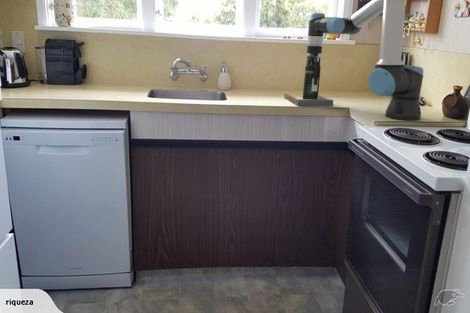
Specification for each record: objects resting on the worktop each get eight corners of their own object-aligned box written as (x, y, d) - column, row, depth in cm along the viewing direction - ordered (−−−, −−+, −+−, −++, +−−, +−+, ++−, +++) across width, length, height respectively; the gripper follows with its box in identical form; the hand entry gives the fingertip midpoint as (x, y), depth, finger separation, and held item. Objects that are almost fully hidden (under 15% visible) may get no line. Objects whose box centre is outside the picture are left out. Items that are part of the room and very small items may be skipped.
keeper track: (331, 105, 218) (331, 100, 218) (296, 105, 216) (296, 100, 215) (315, 98, 241) (316, 93, 240) (284, 97, 238) (284, 93, 238)
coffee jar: (317, 101, 217) (320, 64, 212) (301, 100, 219) (304, 63, 214) (318, 98, 226) (321, 63, 221) (303, 97, 228) (306, 62, 223)
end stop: (332, 106, 216) (333, 100, 215) (297, 106, 213) (298, 100, 212) (330, 105, 219) (331, 99, 218) (296, 104, 216) (296, 99, 215)
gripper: (329, 46, 205) (325, 93, 211) (314, 44, 226) (311, 87, 232) (314, 46, 204) (310, 92, 210) (301, 44, 225) (297, 87, 231)
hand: (311, 89), depth 221 cm, fingers closed on coffee jar, 9 cm apart
